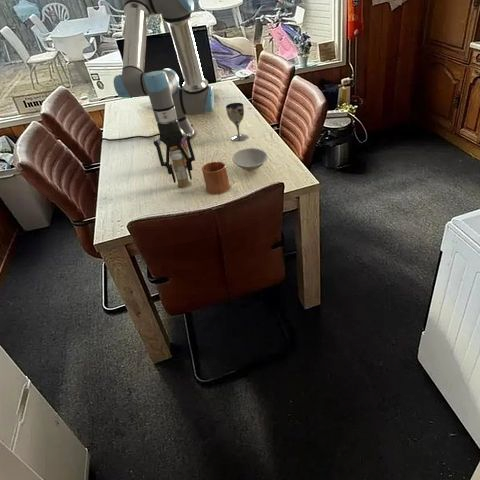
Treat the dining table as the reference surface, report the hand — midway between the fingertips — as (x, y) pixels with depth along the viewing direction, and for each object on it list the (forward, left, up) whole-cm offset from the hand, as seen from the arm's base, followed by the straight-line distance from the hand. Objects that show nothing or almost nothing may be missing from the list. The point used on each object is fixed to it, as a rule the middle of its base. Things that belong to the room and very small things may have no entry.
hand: (182, 179), depth 152 cm
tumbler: (+15, -2, -2) cm, 15 cm away
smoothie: (-7, +16, -3) cm, 18 cm away
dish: (+24, +15, -3) cm, 28 cm away
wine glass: (+10, +46, -3) cm, 47 cm away
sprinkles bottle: (0, 0, -3) cm, 3 cm away
